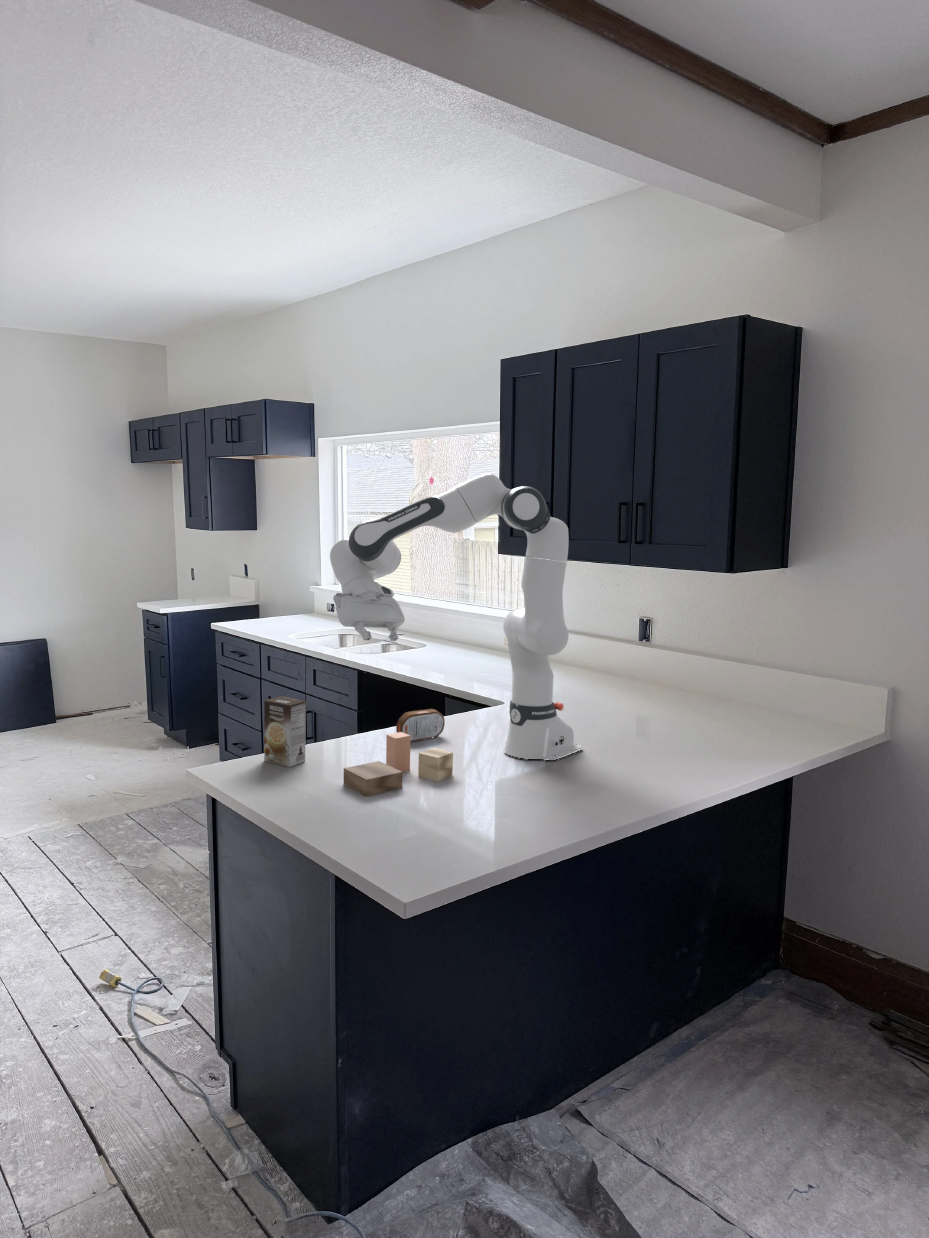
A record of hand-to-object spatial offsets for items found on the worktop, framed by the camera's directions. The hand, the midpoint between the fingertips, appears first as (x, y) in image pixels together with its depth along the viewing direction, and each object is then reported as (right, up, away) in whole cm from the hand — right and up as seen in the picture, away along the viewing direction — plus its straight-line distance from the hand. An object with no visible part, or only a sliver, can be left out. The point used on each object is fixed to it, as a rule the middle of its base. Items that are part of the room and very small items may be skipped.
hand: (381, 639), depth 216 cm
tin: (+9, -29, +26) cm, 40 cm away
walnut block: (-1, -34, -15) cm, 37 cm away
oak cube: (+14, -34, -6) cm, 37 cm away
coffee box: (-25, -32, +2) cm, 40 cm away
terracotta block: (+4, -33, -2) cm, 33 cm away
